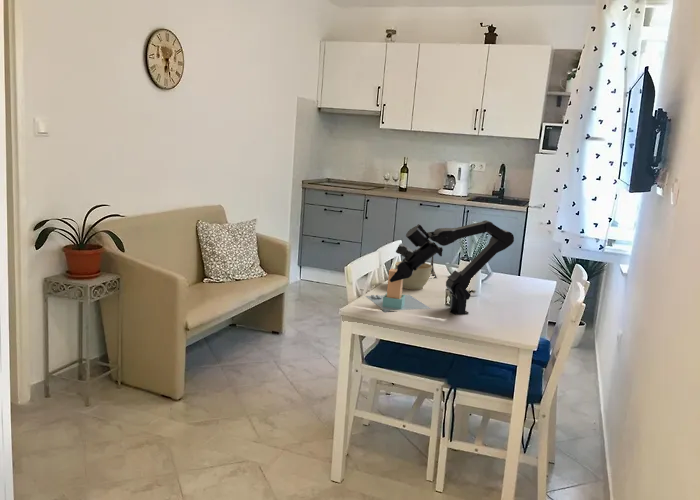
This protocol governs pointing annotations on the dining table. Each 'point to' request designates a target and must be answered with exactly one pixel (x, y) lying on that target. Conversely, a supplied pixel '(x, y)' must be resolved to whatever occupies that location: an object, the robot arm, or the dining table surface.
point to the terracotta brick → (394, 286)
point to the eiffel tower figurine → (432, 269)
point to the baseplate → (406, 307)
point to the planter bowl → (417, 277)
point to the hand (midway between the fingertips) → (392, 278)
